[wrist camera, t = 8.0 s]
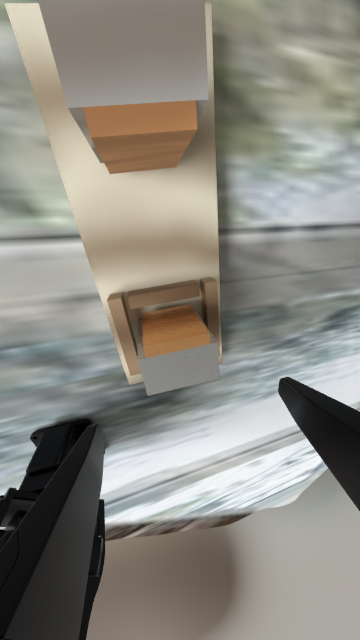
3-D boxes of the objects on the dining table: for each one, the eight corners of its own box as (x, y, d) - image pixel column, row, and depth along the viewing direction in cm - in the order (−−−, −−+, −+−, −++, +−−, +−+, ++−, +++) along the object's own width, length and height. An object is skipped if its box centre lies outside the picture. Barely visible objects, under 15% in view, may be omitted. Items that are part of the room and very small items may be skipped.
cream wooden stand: (217, 355, 22) (250, 410, 15) (129, 375, 21) (125, 443, 14) (202, 29, 11) (293, -261, 5) (22, 33, 10) (-204, -346, 3)
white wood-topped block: (196, 335, 18) (219, 378, 13) (145, 346, 18) (147, 395, 13) (192, 299, 17) (217, 331, 11) (136, 309, 16) (134, 348, 11)
